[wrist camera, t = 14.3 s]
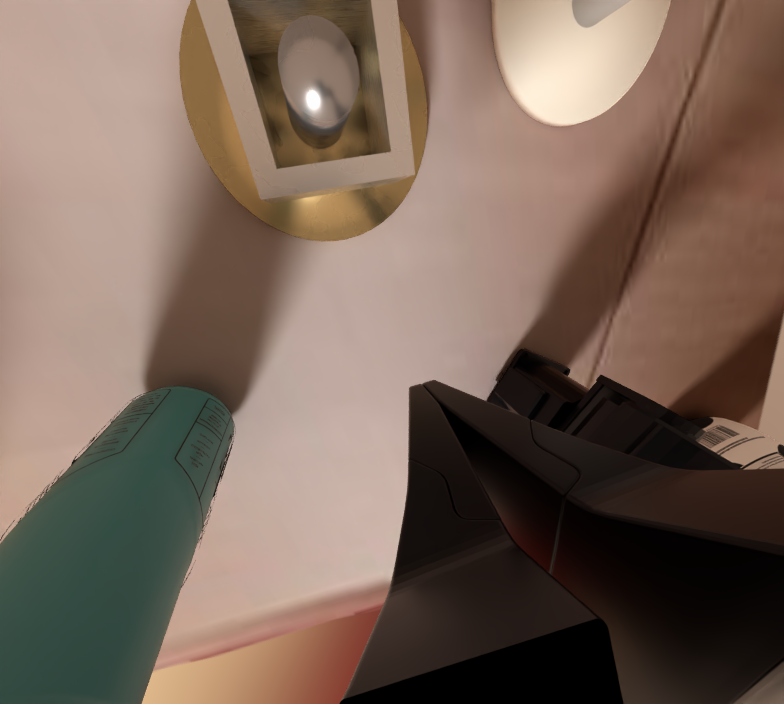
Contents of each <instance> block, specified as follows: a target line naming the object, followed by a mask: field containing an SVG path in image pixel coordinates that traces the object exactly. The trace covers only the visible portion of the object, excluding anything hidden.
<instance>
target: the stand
mask: <svg viewBox="0 0 784 704" xmlns="http://www.w3.org/2000/svg"><path fill="white" fill-rule="evenodd" d="M670 3H671V0H492V7H491V22H492V36H493V43H494V49H495V55H496V59H497V63H498V66H499V70H500V73H501V75H502V78H503V81H504V83H505V85H506V87H507V89H508V91H509V93H510V95H511V96H512V98H513V99H514V101H515V102H516V103H517V105H518V106H519V107H520V108H521V109H522V110H523V111H524V112H525V113H526V114H527V115H529V116H530V117H531V118H533V119H534V120H536V121H538V122H540V123H542V124H545V125H549V126H555V127H564V126H571V125H575V124H578V123H581V122H584V121H587V120H590V119H592V118H594V117H596V116H598V115H600V114H602V113H603V112H605V111H606V110H608V109H609V108H611V107H612V106H613V105H614V104H615V103H616V102H617V101H619V100H620V99H621V98H622V97H623V95H624V94H625V93H626V92H627V91H628V90H629V89H630V88H631V86H632V85H633V84H634V82H635V81H636V80H637V78H638V77H639V75H640V74H641V72H642V71H643V69H644V67H645V66H646V64H647V62H648V60H649V58H650V57H651V55H652V53H653V51H654V48H655V46H656V44H657V42H658V39H659V37H660V34H661V32H662V29H663V26H664V23H665V20H666V17H667V13H668V10H669V6H670Z"/></svg>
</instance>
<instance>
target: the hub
mask: <svg viewBox="0 0 784 704" xmlns="http://www.w3.org/2000/svg"><path fill="white" fill-rule="evenodd" d="M399 25H400V34H401V44H402V53H403V63H404V73H405V82H406V92H407V102H408V111H409V121H410V130H411V140H412V150H413V159H414V169H415V175H412V176H410V177H407V178H405V179H402V180H400V181H398V182H395V183H392V184H386V185H380V186H374V187H368V188H362V189H356V190H350V191H344V192H338V193H332V194H326V195H320V196H314V197H309V198H303V199H297V200H291V201H285V202H279V203H273V204H271V203H268V202H265V201H263V200H261V199H260V196H259V193H258V190H257V187H256V184H255V181H254V178H253V175H252V172H251V169H250V165H249V162H248V159H247V156H246V153H245V150H244V147H243V144H242V141H241V138H240V135H239V132H238V129H237V126H236V123H235V119H234V116H233V113H232V110H231V107H230V104H229V101H228V98H227V95H226V92H225V89H224V86H223V83H222V80H221V77H220V73H219V70H218V67H217V64H216V61H215V58H214V55H213V52H212V49H211V46H210V43H209V40H208V37H207V34H206V31H205V27H204V24H203V21H202V18H201V15H200V12H199V9H198V6H197V3H196V0H191V2H190V5H189V7H188V10H187V13H186V17H185V21H184V25H183V29H182V35H181V44H180V53H179V54H180V80H181V87H182V94H183V100H184V104H185V108H186V112H187V116H188V119H189V122H190V125H191V127H192V130H193V133H194V136H195V138H196V140H197V142H198V145H199V147H200V149H201V151H202V153H203V155H204V157H205V159H206V160H207V162H208V163H209V165H210V167H211V168H212V170H213V171H214V173H215V175H216V176H217V177H218V178H219V180H220V181H221V182H222V184H223V185H224V186H225V188H226V189H227V190H228V191H229V192H230V193H231V194H232V195H233V196H234V197H235V198H236V200H237V201H238V202H239V203H240V204H242V205H243V206H244V207H245V208H246V209H247V210H249V211H250V212H251V213H252V214H253V215H255V216H256V217H258V218H259V219H261V220H262V221H264V222H265V223H267V224H268V225H270V226H272V227H274V228H276V229H278V230H280V231H282V232H285V233H287V234H290V235H293V236H296V237H300V238H304V239H308V240H317V241H337V240H343V239H349V238H352V237H355V236H358V235H361V234H363V233H365V232H367V231H369V230H371V229H373V228H374V227H376V226H377V225H379V224H380V223H382V222H383V221H384V220H385V219H387V218H388V217H389V216H390V215H391V214H392V213H393V212H394V211H395V210H396V209H397V207H398V206H399V205H400V204H401V203H402V201H403V200H404V198H405V197H406V195H407V194H408V192H409V190H410V188H411V186H412V184H413V182H414V180H415V178H416V176H417V173H418V170H419V167H420V164H421V161H422V157H423V152H424V148H425V141H426V133H427V102H426V92H425V86H424V80H423V75H422V71H421V68H420V64H419V60H418V57H417V54H416V51H415V49H414V46H413V43H412V41H411V38H410V36H409V34H408V32H407V30H406V28H405V26H404V24H403V22H402V20H401V18H400V17H399ZM249 58H250V62H251V65H252V69H253V72H254V76H255V79H256V83H257V86H258V90H259V93H260V97H261V100H262V104H263V107H264V111H265V114H266V118H267V121H268V125H269V128H270V132H271V135H272V139H273V142H274V146H275V149H276V153H277V156H278V160H279V163H280V167H281V168H287V167H293V166H300V165H307V164H313V163H320V162H327V161H333V160H340V159H346V158H353V157H360V156H366V155H372V152H371V145H370V139H369V133H368V127H367V120H366V114H365V108H364V101H363V95H362V89H361V82H360V76H359V68H358V62H357V57H356V51H355V46H351V44H350V42H349V40H348V39H347V37H346V36H345V34H344V33H343V32H342V31H341V30H340V29H339V28H338V27H337V26H336V25H335V24H333V23H332V22H330V21H329V20H327V19H325V18H323V17H319V16H314V15H307V16H303V17H300V18H298V19H296V20H294V21H293V22H292V23H291V24H290V25H289V26H288V27H287V28H286V30H285V31H284V33H283V35H282V37H281V40H280V43H279V48H278V53H267V54H256V55H249Z"/></svg>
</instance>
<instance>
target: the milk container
mask: <svg viewBox="0 0 784 704" xmlns="http://www.w3.org/2000/svg"><path fill="white" fill-rule="evenodd" d="M690 422H691V423H693V424H695V425H696V426H698V427H699V428H701V429H703V430H704V431H705V432H707V434H706V435H705V436H704V437H703V438H702V439H701V440H700V441H699V443H700V444H702V445H704V446H705V447H707V448H709V449H710V450H712V451H714V452H715V453H717V454H719V455H721V456H722V457H724V458H726V459H727V460H729V461H731V462H732V463H734V464H736V465H737V466H738V467H740V468H741V469H742V470H744V469H778V468H784V446H783V445H782V444H780V443H779V442H777V441H776V440H774V439H773V438H771V437H769V436H768V435H765V434H764V433H762V432H760V431H758V430H756V429H753V428H751V427H748V426H746V425H743V424H740V423H737V422H734V421H731V420H728V419H725V418H717V417H704V418H699V419H696V420H691V421H690Z"/></svg>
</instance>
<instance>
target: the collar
mask: <svg viewBox="0 0 784 704" xmlns="http://www.w3.org/2000/svg"><path fill="white" fill-rule="evenodd" d="M196 3H197V6H198V9H199V12H200V15H201V18H202V21H203V24H204V27H205V31H206V34H207V37H208V40H209V43H210V46H211V49H212V52H213V55H214V58H215V61H216V64H217V67H218V70H219V73H220V77H221V80H222V83H223V86H224V89H225V92H226V95H227V98H228V101H229V104H230V107H231V110H232V113H233V116H234V119H235V123H236V126H237V129H238V132H239V135H240V138H241V141H242V144H243V147H244V150H245V153H246V156H247V159H248V162H249V165H250V169H251V172H252V175H253V178H254V181H255V184H256V187H257V190H258V193H259V196H260V199H261V200H263V201H265V202H268V203H271V204H273V203H279V202H285V201H291V200H297V199H303V198H309V197H314V196H320V195H326V194H332V193H338V192H344V191H350V190H356V189H362V188H368V187H374V186H380V185H386V184H392V183H395V182H398V181H400V180H402V179H405V178H407V177H410V176H412V175H415V169H414V159H413V150H412V140H411V130H410V121H409V111H408V102H407V92H406V82H405V73H404V63H403V53H402V44H401V34H400V25H399V15H398V5H397V0H196ZM307 15H314V16H319V17H323V18H325V19H327V20H329V21H330V22H332V23H333V24H335V25H336V26H337V27H338V28H339V29H340V30H341V31H342V32H343V33H344V34H345V36H346V37H347V39H348V40H349V42H350V44H351V46H355V51H356V57H357V62H358V68H359V76H360V82H361V89H362V95H363V101H364V108H365V114H366V120H367V127H368V133H369V139H370V145H371V152H372V155H366V156H360V157H353V158H346V159H340V160H333V161H327V162H320V163H313V164H307V165H300V166H293V167H287V168H281V167H280V163H279V160H278V156H277V153H276V149H275V146H274V142H273V139H272V135H271V132H270V128H269V125H268V121H267V118H266V114H265V111H264V107H263V104H262V100H261V97H260V93H259V90H258V86H257V83H256V79H255V76H254V72H253V69H252V65H251V62H250V58H249V55H256V54H267V53H278V48H279V43H280V40H281V37H282V35H283V33H284V31H285V30H286V28H287V27H288V26H289V25H290V24H291V23H292V22H293V21H294V20H296V19H298V18H300V17H303V16H307Z"/></svg>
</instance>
